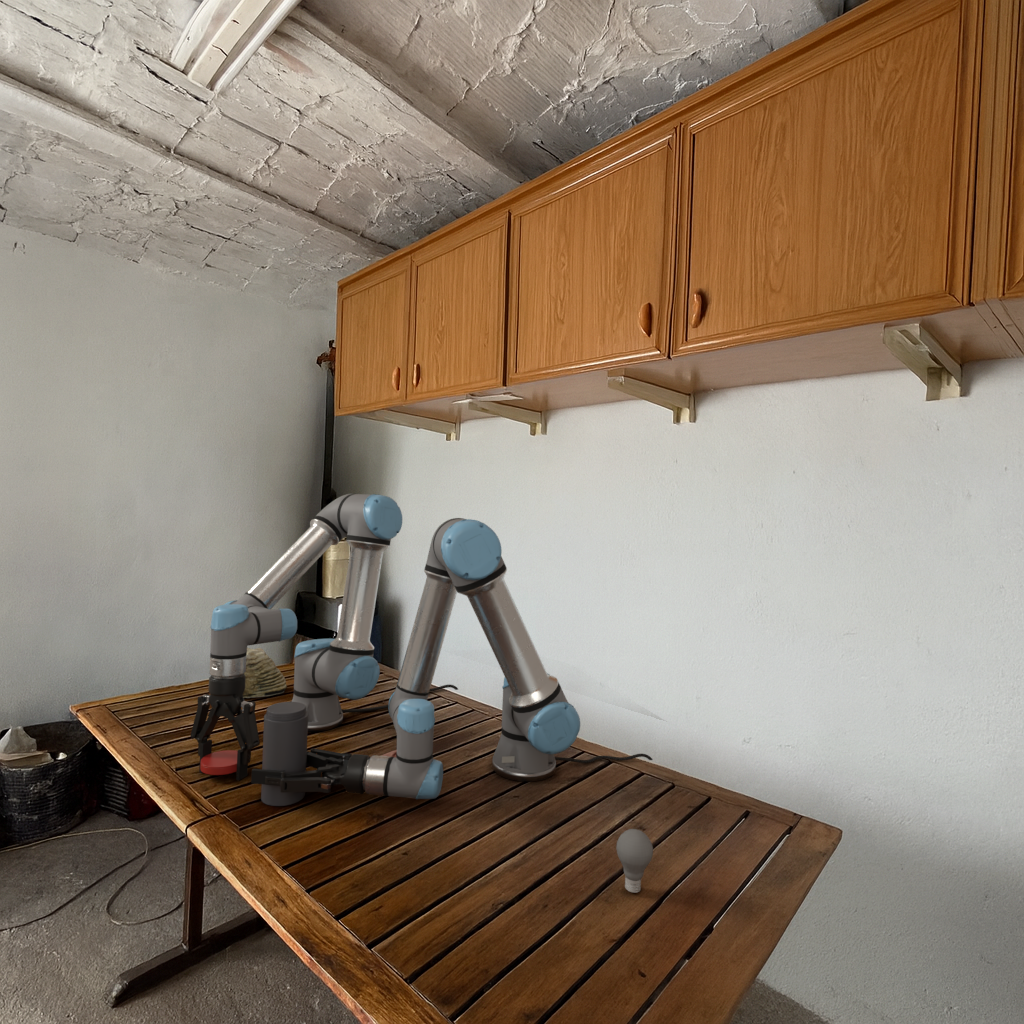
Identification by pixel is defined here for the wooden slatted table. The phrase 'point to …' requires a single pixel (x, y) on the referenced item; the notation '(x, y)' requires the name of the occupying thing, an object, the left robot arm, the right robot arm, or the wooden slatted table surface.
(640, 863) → the light bulb
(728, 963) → the wooden slatted table surface
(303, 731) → the jar
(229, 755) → the lid
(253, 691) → the fossil
